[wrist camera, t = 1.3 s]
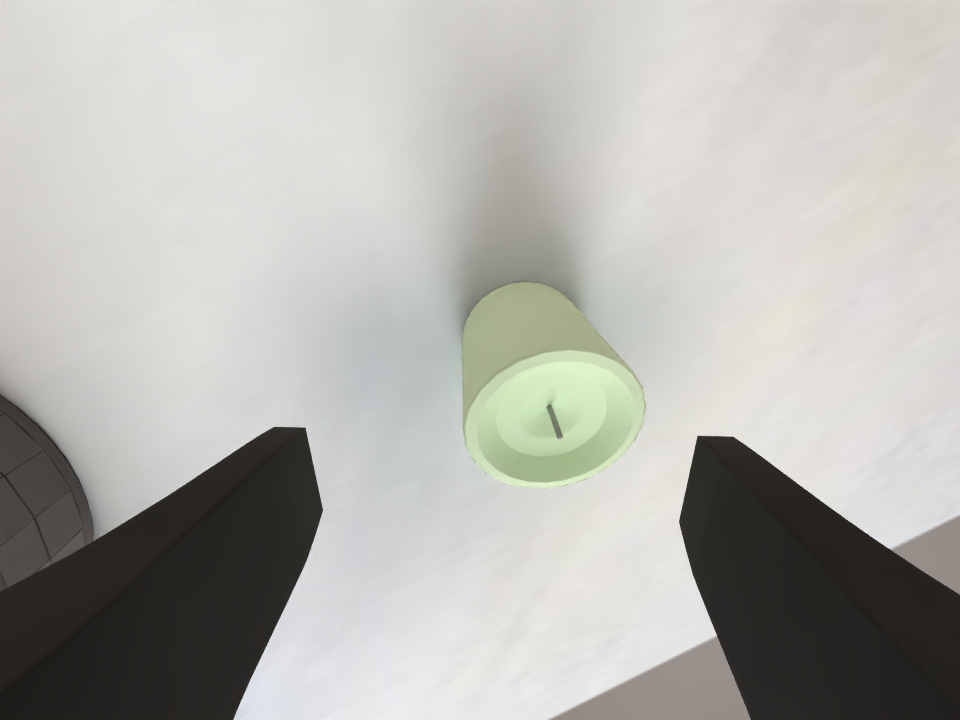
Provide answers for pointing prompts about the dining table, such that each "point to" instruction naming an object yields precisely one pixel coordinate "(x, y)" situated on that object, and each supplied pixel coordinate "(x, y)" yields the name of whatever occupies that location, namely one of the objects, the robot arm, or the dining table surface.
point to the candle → (543, 390)
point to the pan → (36, 500)
